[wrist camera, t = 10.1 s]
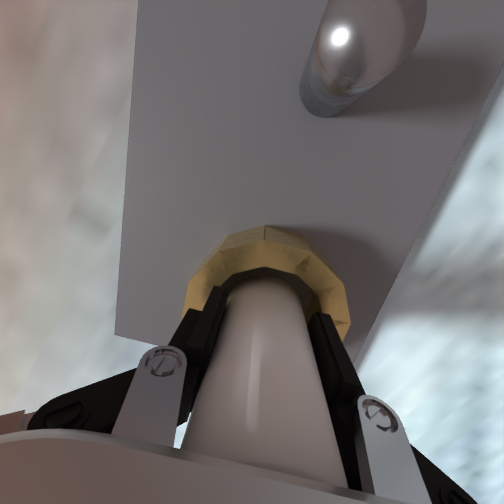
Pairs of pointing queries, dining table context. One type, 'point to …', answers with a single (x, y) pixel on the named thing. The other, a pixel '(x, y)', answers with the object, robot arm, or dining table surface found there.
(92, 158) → the dining table surface
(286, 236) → the brass socket
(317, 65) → the small stub
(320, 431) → the white rounded peg
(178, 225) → the fitting board
